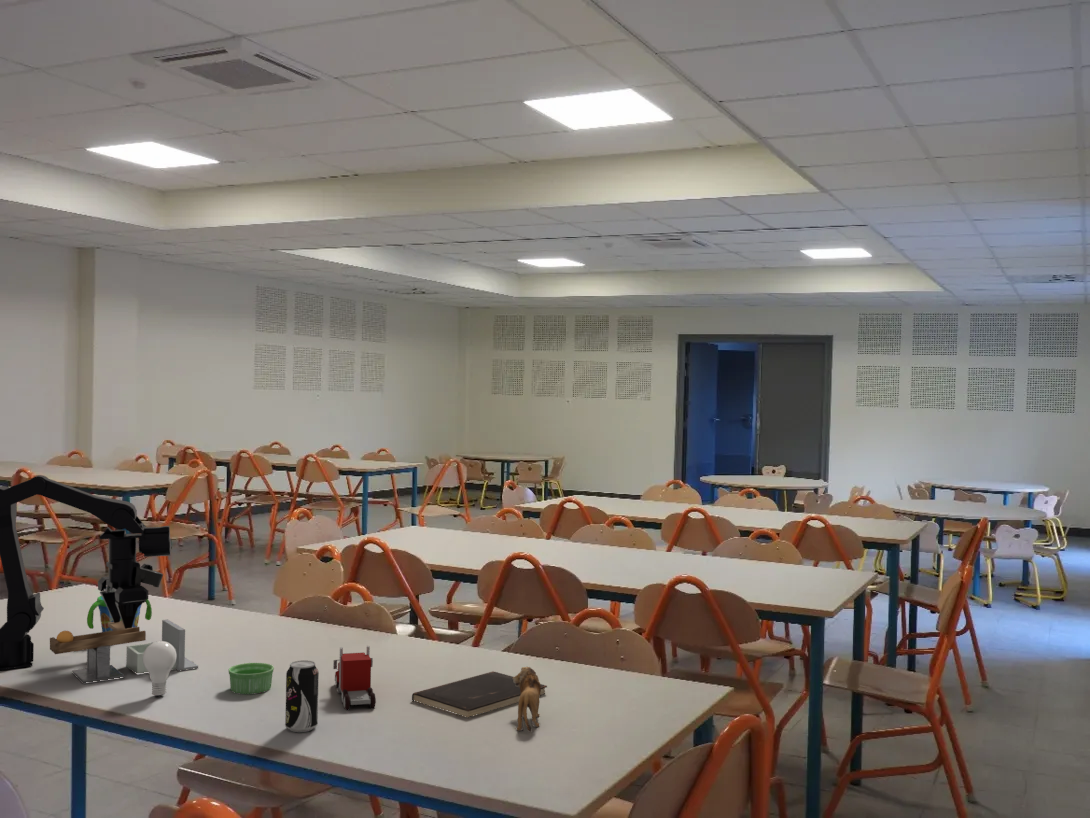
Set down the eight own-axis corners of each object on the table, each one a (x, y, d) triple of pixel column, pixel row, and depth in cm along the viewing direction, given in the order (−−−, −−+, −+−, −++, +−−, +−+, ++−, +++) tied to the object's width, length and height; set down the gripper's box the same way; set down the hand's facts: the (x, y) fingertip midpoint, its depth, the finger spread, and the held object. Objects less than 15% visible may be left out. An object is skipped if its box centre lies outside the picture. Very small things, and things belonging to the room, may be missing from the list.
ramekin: (281, 685, 211) (282, 664, 211) (258, 697, 202) (258, 675, 202) (243, 681, 213) (244, 660, 213) (219, 693, 205) (219, 671, 205)
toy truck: (368, 682, 215) (368, 636, 215) (381, 710, 197) (382, 659, 196) (329, 685, 213) (330, 638, 213) (339, 713, 194) (340, 661, 194)
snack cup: (142, 629, 258) (143, 589, 257) (159, 637, 250) (160, 596, 250) (78, 638, 247) (79, 597, 247) (94, 646, 239) (95, 604, 239)
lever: (56, 657, 207) (56, 643, 207) (36, 638, 222) (35, 625, 222) (146, 643, 218) (146, 629, 218) (121, 626, 233) (121, 613, 233)
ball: (57, 648, 209) (59, 632, 209) (54, 645, 211) (55, 629, 211) (74, 647, 211) (75, 631, 211) (70, 644, 213) (71, 628, 213)
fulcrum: (83, 684, 209) (84, 649, 209) (72, 673, 217) (72, 640, 217) (124, 678, 214) (124, 644, 214) (111, 667, 222) (111, 635, 221)
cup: (137, 675, 216) (137, 654, 216) (126, 666, 223) (126, 646, 223) (176, 669, 221) (176, 648, 221) (164, 661, 228) (164, 641, 228)
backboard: (178, 671, 220) (179, 630, 220) (161, 659, 229) (162, 619, 229) (198, 668, 222) (198, 627, 222) (180, 656, 232) (180, 617, 232)
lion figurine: (511, 710, 198) (512, 664, 198) (538, 709, 198) (539, 664, 198) (517, 735, 183) (518, 685, 183) (546, 734, 184) (547, 685, 183)
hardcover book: (546, 696, 209) (547, 685, 209) (467, 721, 192) (468, 709, 192) (491, 681, 219) (491, 670, 219) (411, 703, 202) (411, 692, 202)
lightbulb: (140, 701, 198) (141, 646, 197) (143, 692, 204) (144, 638, 204) (174, 700, 199) (175, 644, 199) (177, 690, 205) (178, 637, 205)
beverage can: (279, 728, 184) (280, 662, 184) (306, 721, 188) (308, 657, 188) (295, 736, 180) (297, 669, 180) (323, 729, 184) (324, 663, 184)
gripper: (172, 559, 225) (172, 629, 226) (146, 549, 240) (146, 614, 240) (119, 565, 219) (119, 636, 219) (97, 553, 233) (97, 620, 234)
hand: (122, 626), depth 228 cm, fingers open, 9 cm apart
